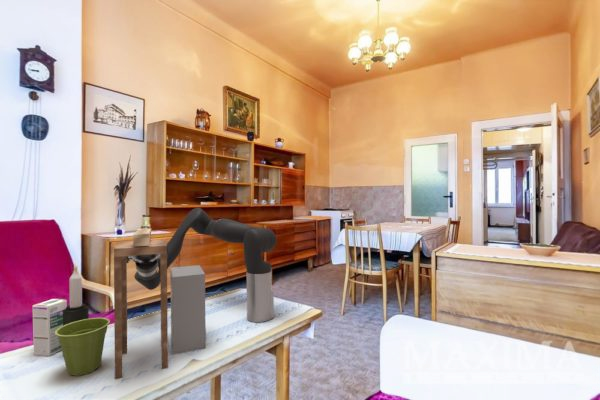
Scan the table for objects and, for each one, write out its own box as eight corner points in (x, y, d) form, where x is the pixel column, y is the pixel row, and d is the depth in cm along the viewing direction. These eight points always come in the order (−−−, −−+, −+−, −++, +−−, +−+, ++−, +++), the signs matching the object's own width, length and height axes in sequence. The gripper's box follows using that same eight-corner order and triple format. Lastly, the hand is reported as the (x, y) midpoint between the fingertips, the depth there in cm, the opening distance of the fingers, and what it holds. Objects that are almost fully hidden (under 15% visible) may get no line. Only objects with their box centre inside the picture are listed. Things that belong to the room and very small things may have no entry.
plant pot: (96, 353, 89) (95, 314, 89) (119, 364, 83) (119, 322, 83) (46, 373, 79) (45, 329, 79) (68, 387, 73) (68, 339, 73)
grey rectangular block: (199, 330, 105) (199, 265, 105) (205, 348, 92) (205, 273, 92) (171, 335, 101) (170, 267, 101) (172, 354, 88) (172, 277, 88)
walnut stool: (166, 343, 95) (165, 239, 95) (167, 367, 81) (166, 245, 81) (121, 352, 90) (120, 241, 90) (114, 379, 76) (113, 248, 76)
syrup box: (49, 356, 88) (48, 305, 88) (32, 354, 89) (32, 304, 89) (68, 347, 93) (67, 299, 93) (52, 345, 95) (51, 298, 95)
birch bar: (151, 237, 101) (150, 228, 102) (149, 245, 80) (148, 233, 80) (138, 238, 100) (138, 228, 100) (133, 246, 78) (133, 234, 78)
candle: (90, 349, 92) (90, 265, 92) (72, 357, 87) (71, 268, 87) (80, 346, 94) (79, 263, 94) (61, 354, 89) (60, 267, 89)
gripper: (125, 256, 116) (121, 238, 103) (167, 253, 122) (168, 235, 109) (125, 275, 113) (120, 259, 100) (167, 271, 118) (168, 256, 106)
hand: (145, 247), depth 105 cm, fingers open, 8 cm apart
